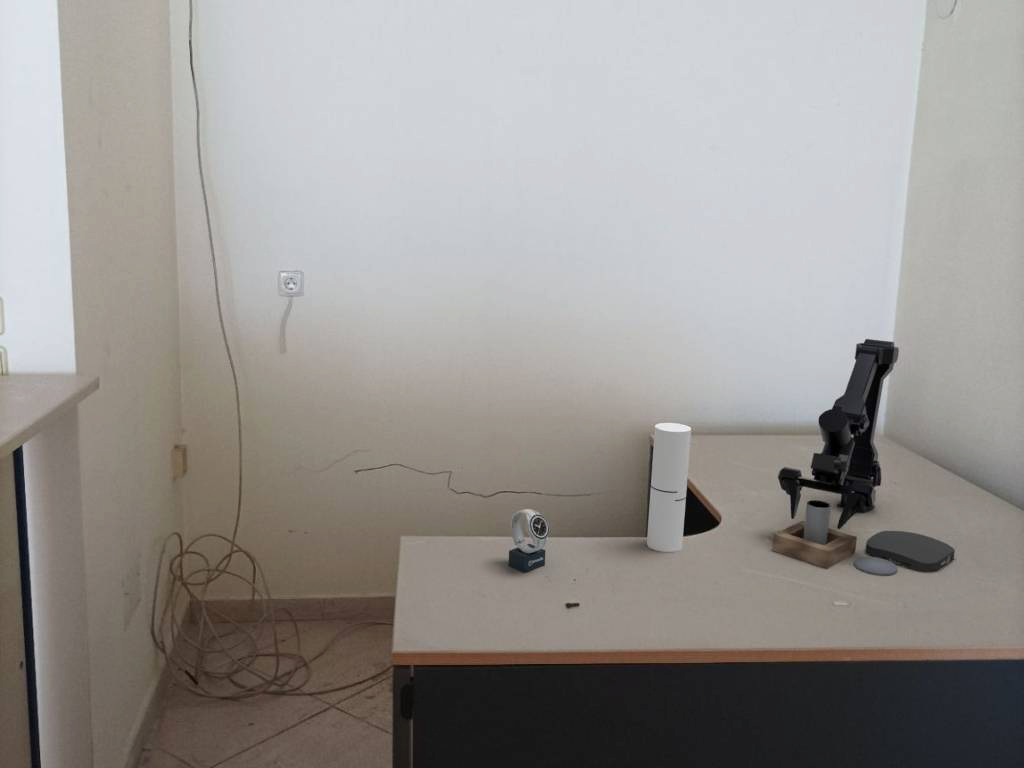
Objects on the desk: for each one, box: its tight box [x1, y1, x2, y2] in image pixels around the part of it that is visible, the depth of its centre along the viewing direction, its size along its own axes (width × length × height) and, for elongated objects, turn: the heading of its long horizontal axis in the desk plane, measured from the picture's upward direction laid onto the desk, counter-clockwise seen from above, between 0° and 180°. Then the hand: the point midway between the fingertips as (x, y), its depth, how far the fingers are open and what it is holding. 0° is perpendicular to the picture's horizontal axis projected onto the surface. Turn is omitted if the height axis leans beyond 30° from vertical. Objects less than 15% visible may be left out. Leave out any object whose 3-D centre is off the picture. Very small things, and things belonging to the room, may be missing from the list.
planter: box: [803, 499, 831, 545], centre depth 188 cm, size 4×4×10 cm
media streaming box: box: [865, 530, 956, 573], centre depth 189 cm, size 15×15×3 cm
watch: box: [508, 508, 550, 574], centre depth 176 cm, size 6×8×11 cm
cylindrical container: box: [646, 422, 692, 553], centre depth 187 cm, size 7×7×25 cm
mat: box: [853, 555, 898, 577], centre depth 182 cm, size 8×8×1 cm
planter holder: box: [771, 520, 858, 569], centre depth 188 cm, size 12×12×4 cm
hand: (815, 523), depth 186 cm, fingers open, 9 cm apart
